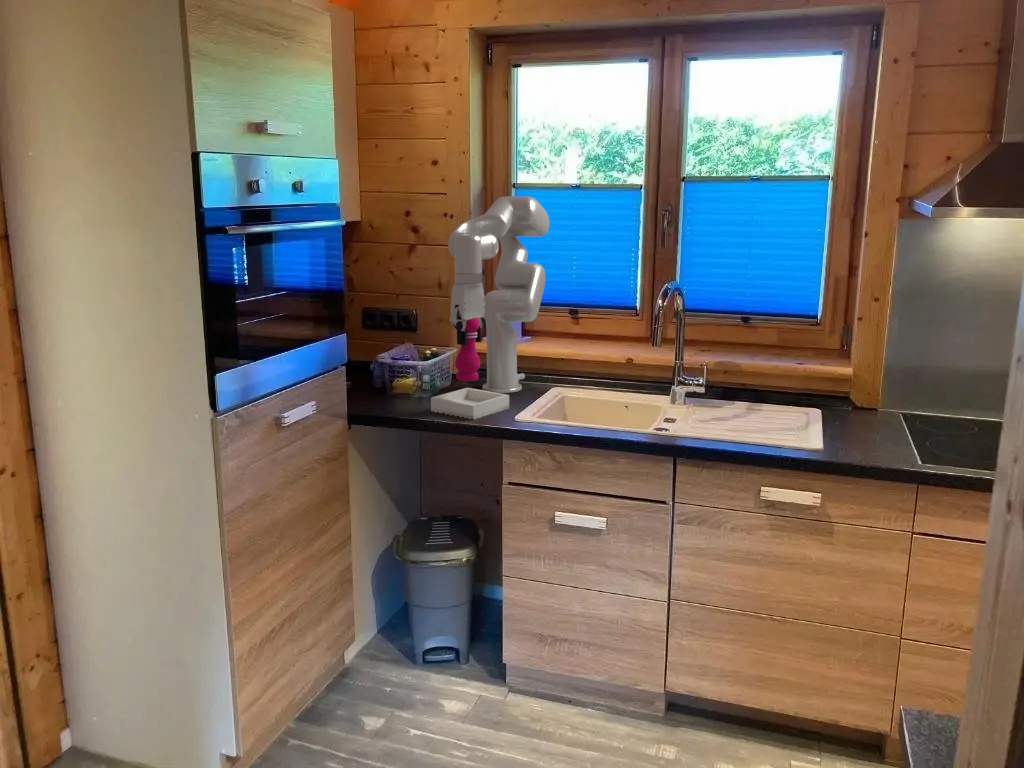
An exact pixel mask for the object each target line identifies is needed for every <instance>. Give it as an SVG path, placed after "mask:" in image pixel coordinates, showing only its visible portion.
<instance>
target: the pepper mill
mask: <svg viewBox="0 0 1024 768" xmlns="http://www.w3.org/2000/svg"><path fill="white" fill-rule="evenodd" d="M460 324H461V325H462V322H460ZM479 325H480V323H479V320H478V318H472V319H470V320H468V321H467V323H466V328H465V331H467V345H460V348H459V351H458V353H457V355H456V356H455V357H456V359H455V361H454V366H455V368H456V369H457V371H456V374H455V375H456V376H455V377H456V380H458V381H462V382H463V381H466V382H474V381H478V380H479V373H478V372H477V371H478V370H479V369H480V368H481V360H480V356H479V354H478V351H477V348H476V342H475V341H476V337H477V334H478V333H477V332H476V331H477V329H478V328H479Z"/></svg>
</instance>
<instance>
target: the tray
mask: <svg viewBox="0 0 1024 768" xmlns="http://www.w3.org/2000/svg"><path fill="white" fill-rule="evenodd" d="M509 409H510V395H509V394H507V393H495V392H489V391H484V390H483V389H477V388H472V387H464V388H462V389H457V390H455V391H454V390H453V391H450V392H447V393H443V394H439V395H436V396H432V397H430V411H431V412H433V411H434V413H437V412H439V414H442V413H445V414H444V415H447V414H450V415H449V416H452V415H454V416H453V417H457V416H459V417H458V418H462V417H464V418H463V419H466V418H468V419H467V420H471V419H473V420H472V421H474V419H475V420H478V419H480V418H484V417H487V416H490V414H491V415H493V414H496V413H499V412H503V411H506V410H509ZM483 416H484V417H483ZM477 418H478V419H477Z"/></svg>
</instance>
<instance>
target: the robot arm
mask: <svg viewBox="0 0 1024 768" xmlns="http://www.w3.org/2000/svg"><path fill="white" fill-rule="evenodd" d="M487 209H488V210H487V211H486V212H485V213H484V214H482V215H478V216H476V217H474V218H471V219H469V220H467V221H464V222H462V223H461V224H459V225H458V226H457V227H456V228H455V230H453V231H452V233H451V235H450V237H449V239H448V243H447V247H448V251H449V254H450V256H451V257H452V258H454V284H453V286H452V290H451V299H450V317H449V319H448V320H449V322H450V323H451V325H452V326H453V327H454V331H456V344H457V345H460V346H461V345H467V331H465V328H466V323H467V321H468V320H470V319H472V318H478V320H479V323H480V325H479V328H478V329H477V331H476V332H477V333H478V334H477V337H476V341H475V343H481V342H482V329H483V324H484V322H485V326H486V327H485V328H486V382H485V383H484V384H482V386H481V387H482V388H481V390H483V391H489V392H495V393H500V394H510V393H517V392H520V391H522V390H523V388H522V384H521V383H519V381H520V380H524V379H525V378H526V375H525V373H523V372H522V373H518V358H517V357H518V347H517V346H518V341H517V339H518V337H517V332H516V330H515V328H514V326H513V325H512V324H511V322H518V323H520V322H522V323H527V322H529V323H531V322H534V321H535V320H536V319H537V317H538V314H539V311H540V308H541V303H542V298H543V295H544V290H545V285H546V272H545V268H544V267H543V266H542V265H541V264H540V263H537V262H527V260H528V256H529V255H528V254H529V253H528V250H527V248H526V247H525V245H524V244H523V243H522V242H521V241H520V240H519V238H518V237H529V238H530V237H537V238H538V237H539V238H540V237H543V236H545V235H546V234H548V231H549V228H550V218H549V214H548V213H547V211H546V210H545V208H544V207H543V206H542V205H541V203H540V202H539V201H538V200H536V198H534V197H531V196H530V195H529V196H528V195H527V196H523V195H522V196H521V195H520V196H519V195H518V196H513V195H512V196H507V195H506V196H500V197H498V198H497V199H496V200H495V201H494V202H493V203H492V205H490V207H488V208H487ZM498 239H499V240H498ZM499 243H500V245H499ZM499 246H500V248H501V253H500V254H501V255H500V258H499V260H498V261H499V262H498V266H497V270H496V272H495V273H496V274H495V278H494V284H495V287H496V289H495V290H491V291H488V293H486V294H485V291H484V285H483V275H482V274H483V273H482V268H483V267H482V263H483V261H482V260H490V259H493V258H494V257H496V255H497V254H498V252H499V249H500V248H499ZM460 322H462V325H461V324H460Z"/></svg>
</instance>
